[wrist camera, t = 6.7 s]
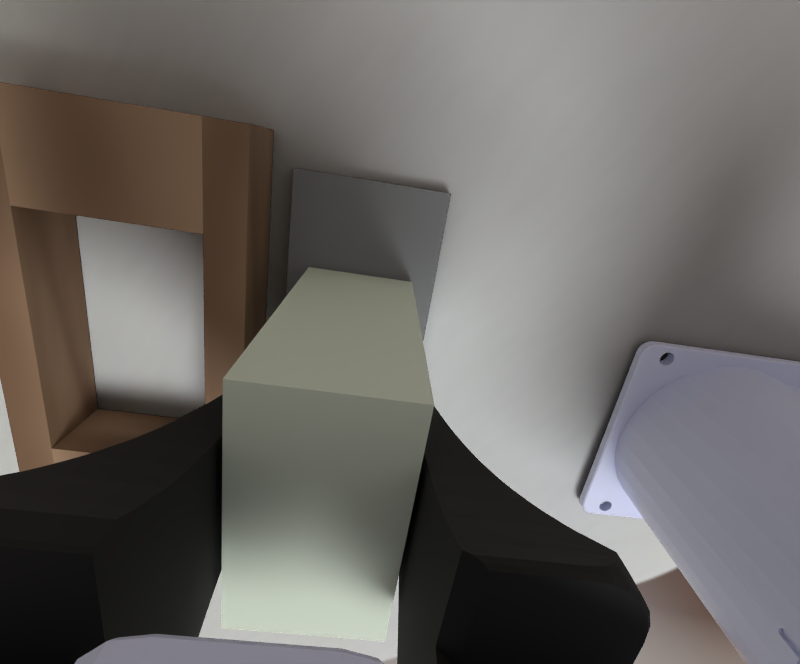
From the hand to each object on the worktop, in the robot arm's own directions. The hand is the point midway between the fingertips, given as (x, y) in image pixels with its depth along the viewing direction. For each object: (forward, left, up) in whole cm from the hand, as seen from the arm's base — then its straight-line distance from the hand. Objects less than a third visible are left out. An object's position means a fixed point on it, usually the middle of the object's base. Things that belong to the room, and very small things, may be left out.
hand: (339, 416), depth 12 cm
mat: (0, 0, -5) cm, 5 cm away
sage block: (0, 0, -4) cm, 4 cm away
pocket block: (+7, 0, -5) cm, 8 cm away
